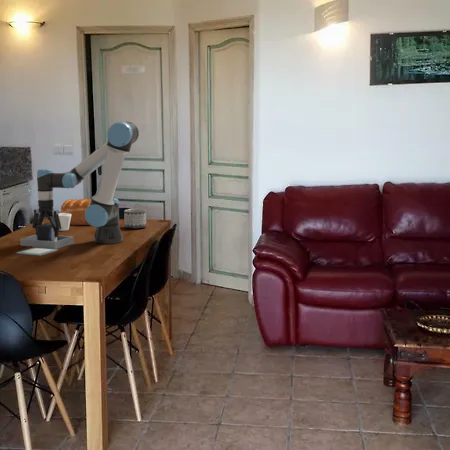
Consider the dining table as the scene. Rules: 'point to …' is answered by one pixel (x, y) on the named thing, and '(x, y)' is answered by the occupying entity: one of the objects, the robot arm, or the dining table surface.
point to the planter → (135, 218)
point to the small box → (45, 232)
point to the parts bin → (47, 242)
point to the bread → (76, 210)
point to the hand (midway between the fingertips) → (47, 242)
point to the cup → (64, 221)
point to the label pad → (37, 251)
